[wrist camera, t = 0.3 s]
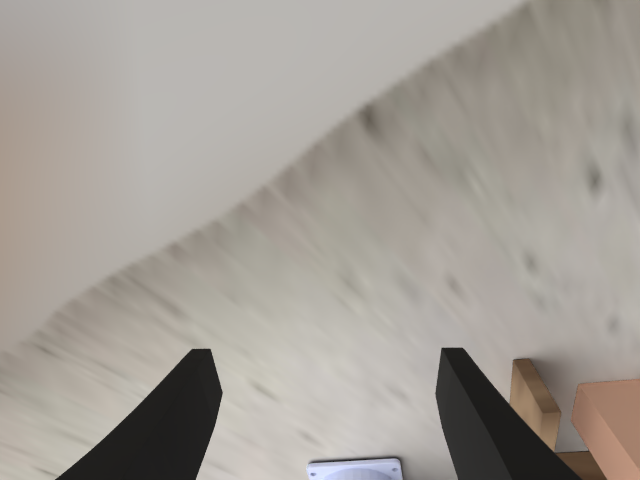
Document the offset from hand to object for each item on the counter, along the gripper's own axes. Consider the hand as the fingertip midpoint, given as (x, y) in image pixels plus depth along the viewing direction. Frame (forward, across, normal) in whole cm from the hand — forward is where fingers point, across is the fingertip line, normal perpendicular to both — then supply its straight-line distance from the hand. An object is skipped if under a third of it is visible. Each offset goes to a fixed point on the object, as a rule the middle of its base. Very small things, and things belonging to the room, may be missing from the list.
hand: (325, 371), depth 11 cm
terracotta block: (+10, -19, +14) cm, 26 cm away
